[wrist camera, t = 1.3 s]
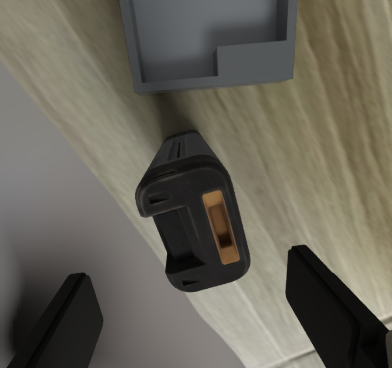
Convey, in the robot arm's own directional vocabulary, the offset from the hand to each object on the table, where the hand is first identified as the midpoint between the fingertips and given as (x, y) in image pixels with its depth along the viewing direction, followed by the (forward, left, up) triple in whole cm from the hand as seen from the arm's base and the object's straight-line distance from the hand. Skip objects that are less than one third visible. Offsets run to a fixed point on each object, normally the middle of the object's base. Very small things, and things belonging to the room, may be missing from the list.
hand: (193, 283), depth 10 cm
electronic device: (0, 0, -24) cm, 24 cm away
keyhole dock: (-4, -20, -24) cm, 31 cm away
